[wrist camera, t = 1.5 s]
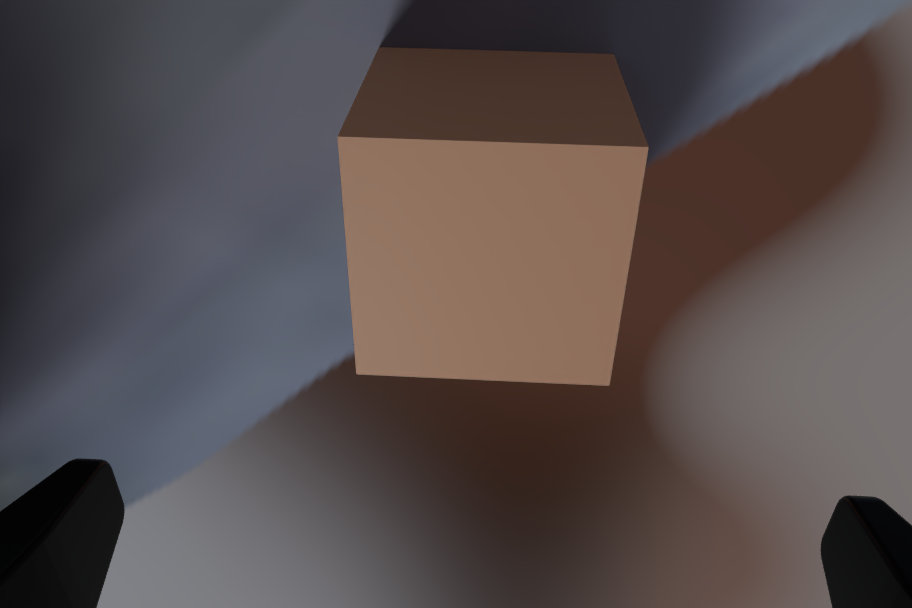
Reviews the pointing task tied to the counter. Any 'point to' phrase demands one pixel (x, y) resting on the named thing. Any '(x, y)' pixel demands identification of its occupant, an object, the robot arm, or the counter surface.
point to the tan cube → (490, 213)
